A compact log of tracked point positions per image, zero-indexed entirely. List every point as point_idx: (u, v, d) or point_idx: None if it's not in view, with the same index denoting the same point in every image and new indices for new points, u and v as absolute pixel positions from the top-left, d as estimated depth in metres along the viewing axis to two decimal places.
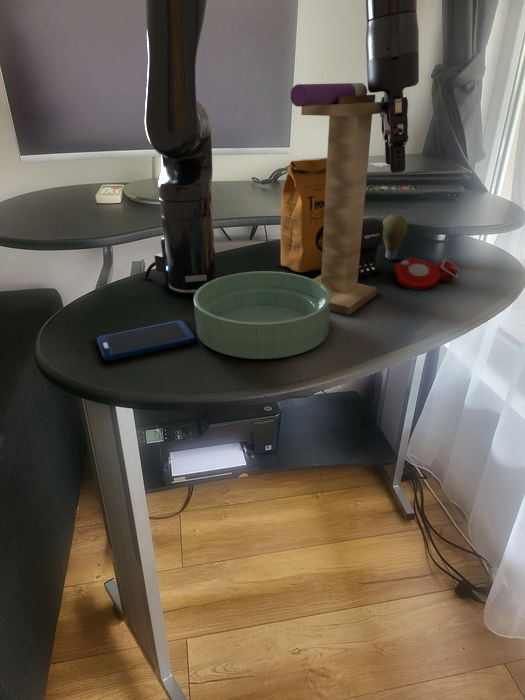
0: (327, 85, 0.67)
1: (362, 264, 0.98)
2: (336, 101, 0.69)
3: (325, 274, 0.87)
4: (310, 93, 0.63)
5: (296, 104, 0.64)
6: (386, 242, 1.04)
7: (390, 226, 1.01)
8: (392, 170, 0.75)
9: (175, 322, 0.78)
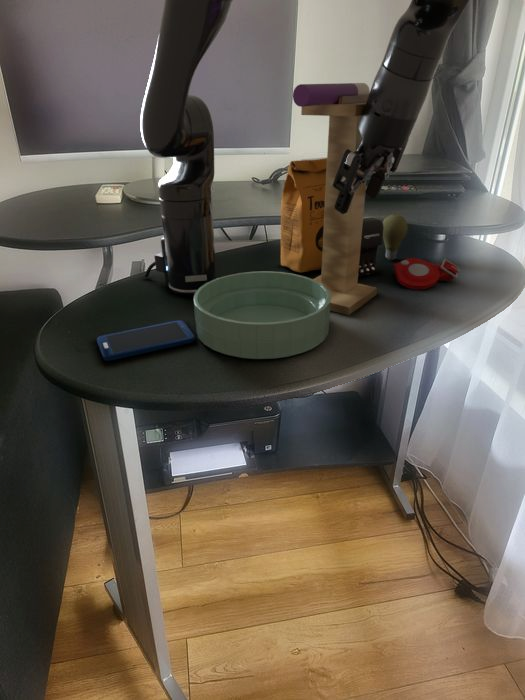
0: (331, 87, 0.66)
1: (362, 264, 0.98)
2: (336, 103, 0.69)
3: (325, 274, 0.87)
4: (313, 97, 0.63)
5: (297, 103, 0.64)
6: (386, 242, 1.04)
7: (390, 226, 1.01)
8: None
9: (175, 322, 0.78)
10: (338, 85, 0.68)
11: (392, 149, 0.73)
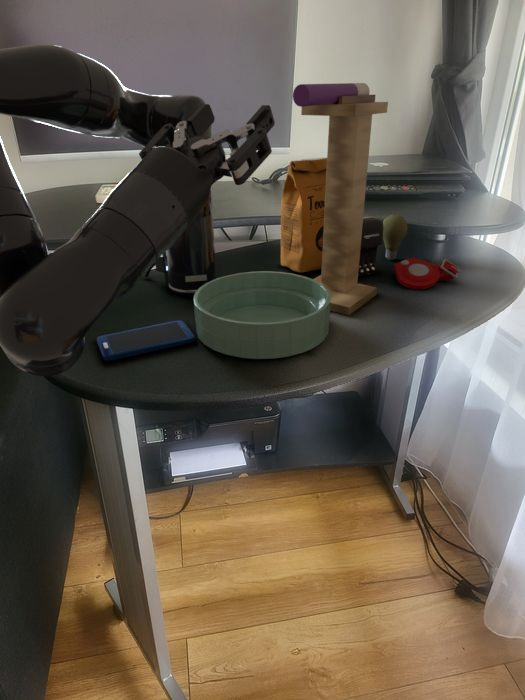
0: (331, 87, 0.66)
1: (362, 264, 0.98)
2: (336, 103, 0.69)
3: (325, 274, 0.87)
4: (313, 97, 0.63)
5: (297, 103, 0.64)
6: (386, 242, 1.04)
7: (390, 226, 1.01)
8: None
9: (175, 322, 0.78)
10: (338, 85, 0.68)
11: None
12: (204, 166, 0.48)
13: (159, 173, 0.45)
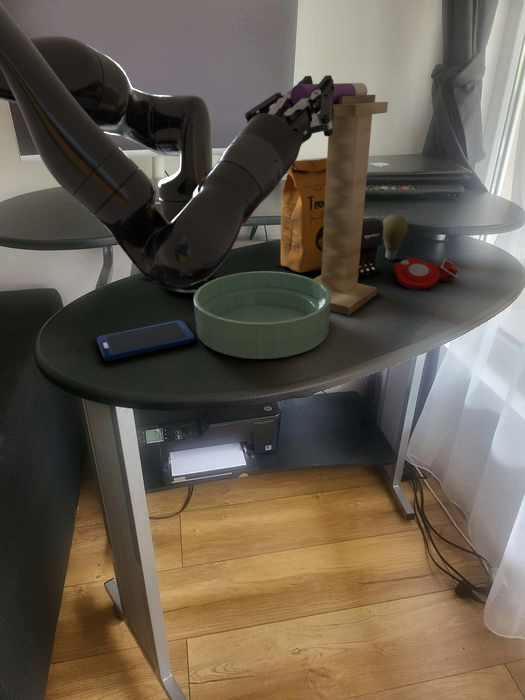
0: None
1: (362, 264, 0.98)
2: (336, 101, 0.69)
3: (325, 274, 0.87)
4: None
5: None
6: (386, 242, 1.04)
7: (390, 226, 1.01)
8: None
9: (175, 322, 0.78)
10: (334, 84, 0.68)
11: None
12: (296, 129, 0.59)
13: (265, 134, 0.57)
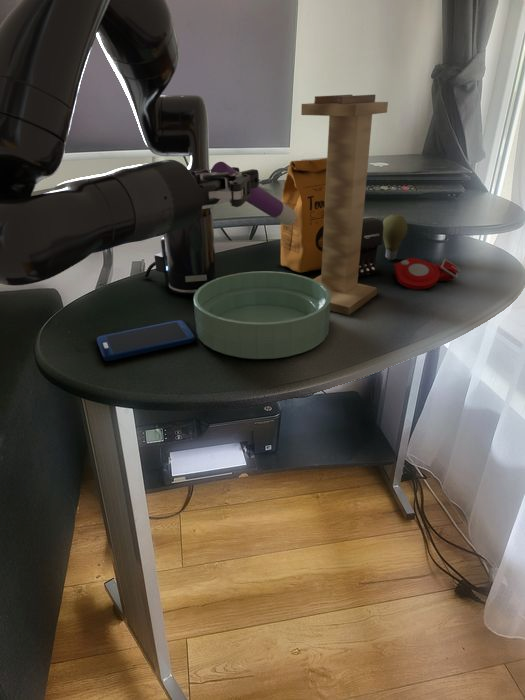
0: None
1: (362, 264, 0.98)
2: (260, 204, 0.67)
3: (325, 274, 0.87)
4: None
5: None
6: (386, 242, 1.04)
7: (390, 226, 1.01)
8: None
9: (175, 322, 0.78)
10: (261, 188, 0.66)
11: None
12: (202, 186, 0.53)
13: (162, 170, 0.50)
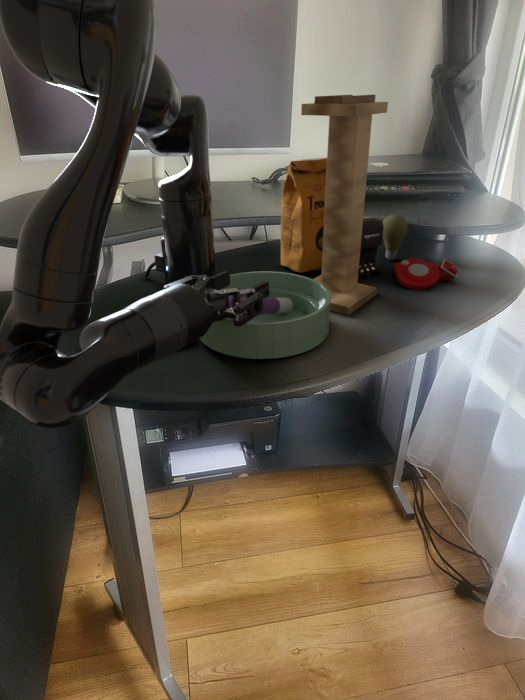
0: None
1: (362, 264, 0.98)
2: None
3: (325, 274, 0.87)
4: None
5: None
6: (386, 242, 1.04)
7: (390, 226, 1.01)
8: None
9: None
10: None
11: None
12: (212, 307, 0.61)
13: (178, 299, 0.57)
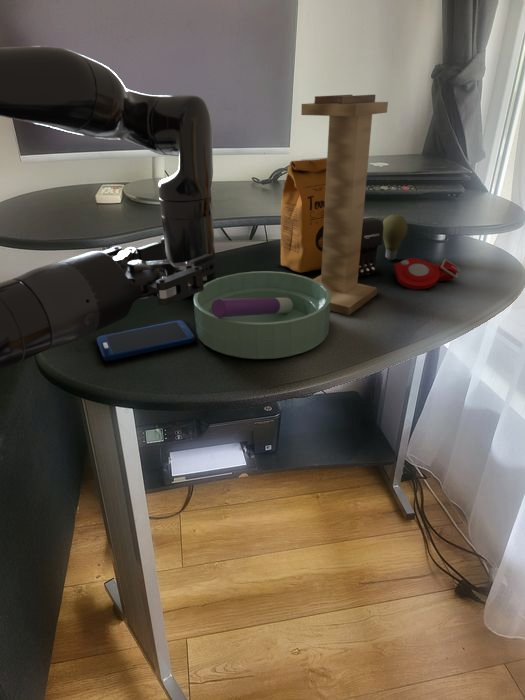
0: (250, 301, 0.71)
1: (362, 264, 0.98)
2: (258, 314, 0.74)
3: (325, 274, 0.87)
4: (230, 309, 0.67)
5: (215, 314, 0.67)
6: (386, 242, 1.04)
7: (390, 226, 1.01)
8: None
9: (175, 322, 0.78)
10: (258, 299, 0.73)
11: None
12: (134, 280, 0.49)
13: (86, 268, 0.45)
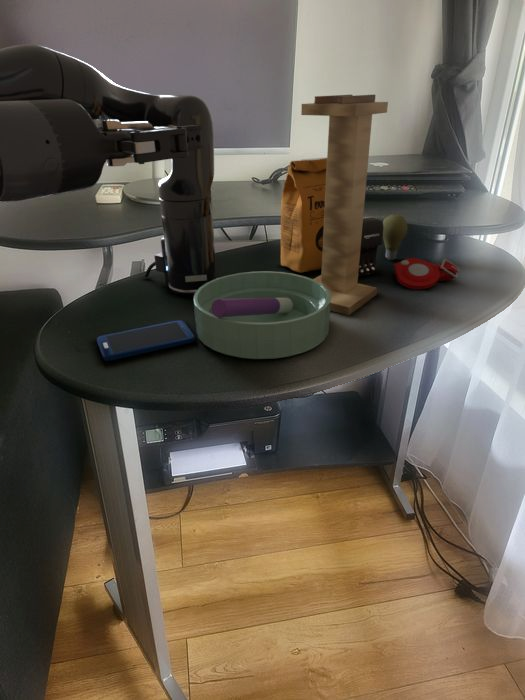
0: (250, 301, 0.71)
1: (362, 264, 0.98)
2: (258, 314, 0.74)
3: (325, 274, 0.87)
4: (230, 309, 0.67)
5: (215, 314, 0.67)
6: (386, 242, 1.04)
7: (390, 226, 1.01)
8: None
9: (175, 322, 0.78)
10: (258, 299, 0.73)
11: None
12: (106, 134, 0.42)
13: (47, 107, 0.39)
